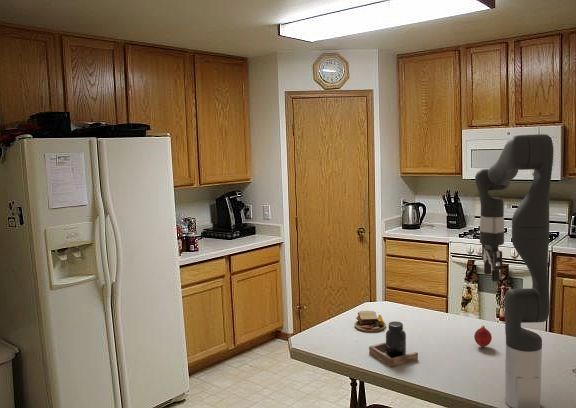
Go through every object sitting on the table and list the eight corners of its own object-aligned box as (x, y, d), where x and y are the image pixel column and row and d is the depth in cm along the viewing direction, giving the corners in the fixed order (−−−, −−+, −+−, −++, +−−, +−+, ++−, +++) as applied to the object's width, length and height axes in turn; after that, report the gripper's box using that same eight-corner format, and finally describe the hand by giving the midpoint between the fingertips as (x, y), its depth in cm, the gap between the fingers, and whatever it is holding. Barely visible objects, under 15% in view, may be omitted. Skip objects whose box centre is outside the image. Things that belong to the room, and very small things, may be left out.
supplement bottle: (382, 357, 182) (381, 324, 180) (392, 351, 187) (391, 318, 186) (400, 362, 178) (399, 328, 176) (409, 355, 183) (409, 322, 181)
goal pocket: (394, 346, 191) (394, 340, 191) (417, 359, 179) (417, 352, 179) (369, 353, 186) (369, 346, 186) (391, 367, 175) (391, 359, 174)
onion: (492, 351, 184) (493, 329, 183) (475, 350, 185) (475, 328, 184) (490, 344, 189) (490, 323, 188) (473, 343, 191) (473, 322, 190)
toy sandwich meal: (355, 333, 206) (354, 321, 205) (353, 320, 219) (353, 310, 218) (387, 333, 205) (387, 321, 204) (384, 320, 218) (384, 309, 217)
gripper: (474, 226, 180) (474, 272, 182) (486, 234, 166) (486, 284, 168) (496, 225, 179) (496, 271, 181) (511, 233, 165) (510, 283, 167)
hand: (491, 277), depth 175 cm, fingers open, 8 cm apart
